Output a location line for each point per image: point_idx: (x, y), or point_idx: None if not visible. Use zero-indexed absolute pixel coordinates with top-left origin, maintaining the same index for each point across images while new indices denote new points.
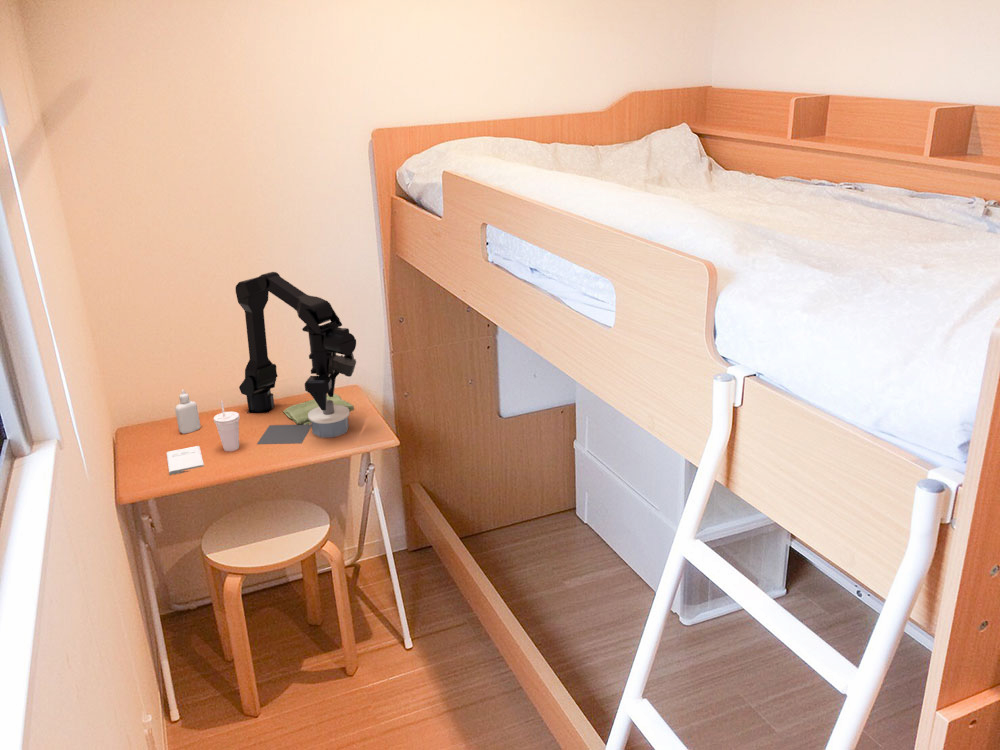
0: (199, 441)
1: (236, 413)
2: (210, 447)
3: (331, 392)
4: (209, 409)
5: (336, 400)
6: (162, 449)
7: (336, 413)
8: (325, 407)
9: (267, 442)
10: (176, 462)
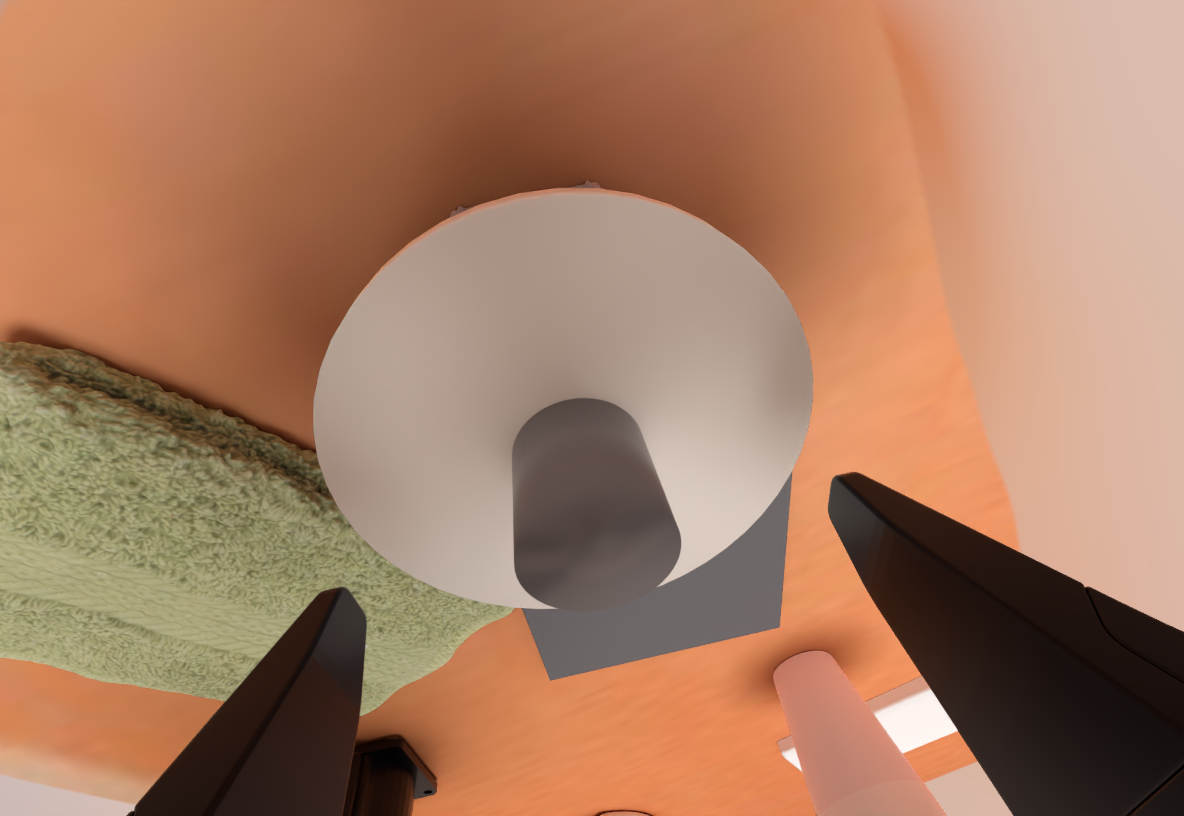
0: (714, 767)
1: None
2: (769, 725)
3: (327, 663)
4: None
5: (17, 548)
6: (771, 798)
7: (597, 359)
8: (899, 495)
9: (766, 599)
10: (916, 738)
